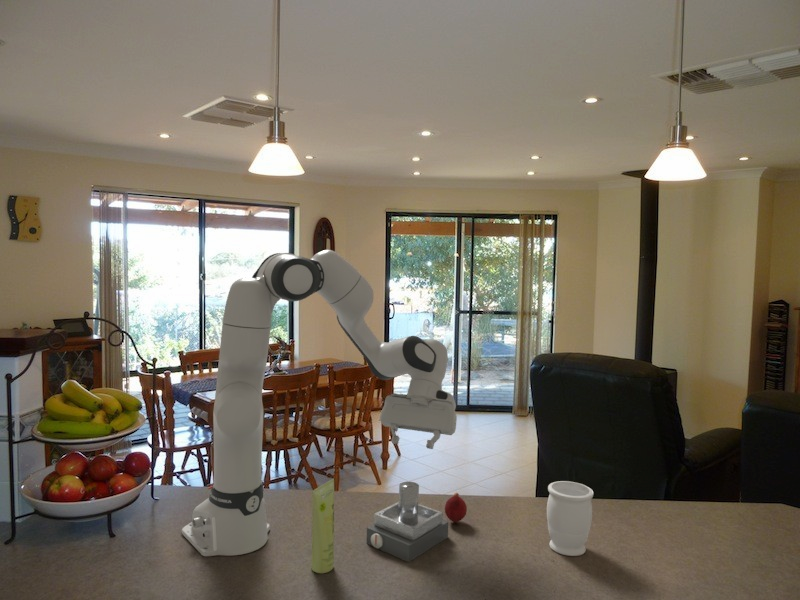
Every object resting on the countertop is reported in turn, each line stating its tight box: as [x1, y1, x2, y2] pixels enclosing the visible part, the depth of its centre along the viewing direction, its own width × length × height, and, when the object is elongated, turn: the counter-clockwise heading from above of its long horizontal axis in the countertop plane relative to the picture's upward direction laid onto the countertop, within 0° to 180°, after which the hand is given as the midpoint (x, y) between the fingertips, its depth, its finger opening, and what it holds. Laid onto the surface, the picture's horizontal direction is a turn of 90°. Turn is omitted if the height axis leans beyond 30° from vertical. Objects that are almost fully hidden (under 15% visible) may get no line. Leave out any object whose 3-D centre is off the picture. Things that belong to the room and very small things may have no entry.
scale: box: [366, 519, 449, 563], centre depth 144 cm, size 13×17×4 cm
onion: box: [444, 492, 468, 524], centre depth 154 cm, size 6×6×8 cm
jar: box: [546, 480, 594, 557], centre depth 142 cm, size 11×10×15 cm
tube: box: [310, 478, 335, 574], centre depth 129 cm, size 6×5×20 cm
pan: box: [373, 501, 444, 541], centre depth 144 cm, size 12×12×3 cm
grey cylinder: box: [398, 481, 420, 525], centre depth 144 cm, size 5×5×9 cm
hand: (411, 445), depth 150 cm, fingers open, 8 cm apart
